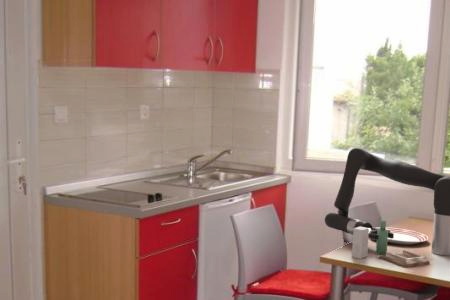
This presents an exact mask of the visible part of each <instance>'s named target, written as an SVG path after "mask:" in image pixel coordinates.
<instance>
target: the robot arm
mask: <svg viewBox="0 0 450 300" xmlns="http://www.w3.org/2000/svg"><path fill="white" fill-rule="evenodd" d="M360 170H363V171H368V172H373V173H376V174H379V175H381V176H383V177H385V178H387V179H389V180H392V181H394V182H397V183H400V184H404V185H406V186H407V185H408V186H413V187H419V188H427V189H429V190H432V191H433V208H434V213H433V224H432V225H433V228H432V239H431V240H432V241H431V253H433V254H436V255H439V256H440V255H441V256H450V175H445V174H441V173H435V172H432V171H429V170H427V169H425V168H421V167H418V166H416V165H413V164H410V163H407V162H404V161H402V160H401V161H400V160H397V159H396V160H395V159H390V158H383V157H379V156H377V155H374V154H372V153H371V152H368V151H366V150H365V149H363V148H362V147H354V148H352V149H351V150H349V152H348V155H347V159H346V163H345V168H344V173H343V176H342V179H341V180H342V181H341V184H340V187H339V190H338V192H337V195H336V197H335V200H334V203H333V205H334V207H335V208H336V209H337V210H338V211H337V212H338V213H335V212H328V213H327V214H326V215H325V217H324V223H325V225H326V226H327V227H328V228H332V229H334V230H337V231H341V232H343V233H346V234H349V235H352V236H353V229H354V228H357V227H366V228H369V234H368V240H369V239H371V240H375V241H377V240H378V237H379V236H378V235H377V230H378V228H377V227H374V226H373V225H372V224H371V223H370V222H367V221H364V220H361V219H358V218H352V217H349V212H350V211H349V210H350V206H351V203H352V200H353V199H354V192H355V187H356V180H357V177H358V174H359V172H360ZM379 229H380V228H379ZM388 238H391V239H392V238H394V234H393V233H390V230H388Z"/></svg>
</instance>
